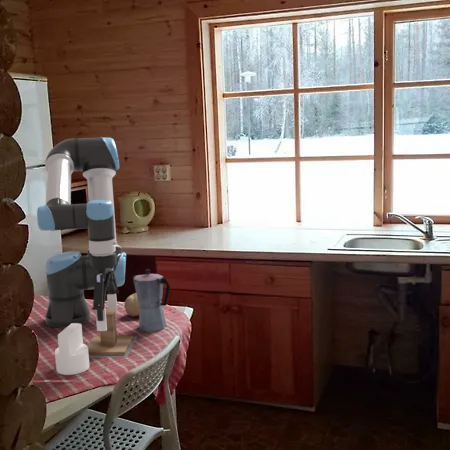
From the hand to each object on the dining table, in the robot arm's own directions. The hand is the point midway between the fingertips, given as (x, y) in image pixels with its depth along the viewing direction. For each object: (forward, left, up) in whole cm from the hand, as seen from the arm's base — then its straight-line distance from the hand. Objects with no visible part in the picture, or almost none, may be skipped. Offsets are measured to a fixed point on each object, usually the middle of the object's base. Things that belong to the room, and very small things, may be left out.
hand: (107, 322), depth 176 cm
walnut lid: (0, 0, -8) cm, 8 cm away
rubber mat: (0, 0, -9) cm, 9 cm away
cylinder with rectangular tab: (+14, -7, -9) cm, 18 cm away
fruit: (-28, +3, -9) cm, 30 cm away
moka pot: (-16, +11, -9) cm, 22 cm away
